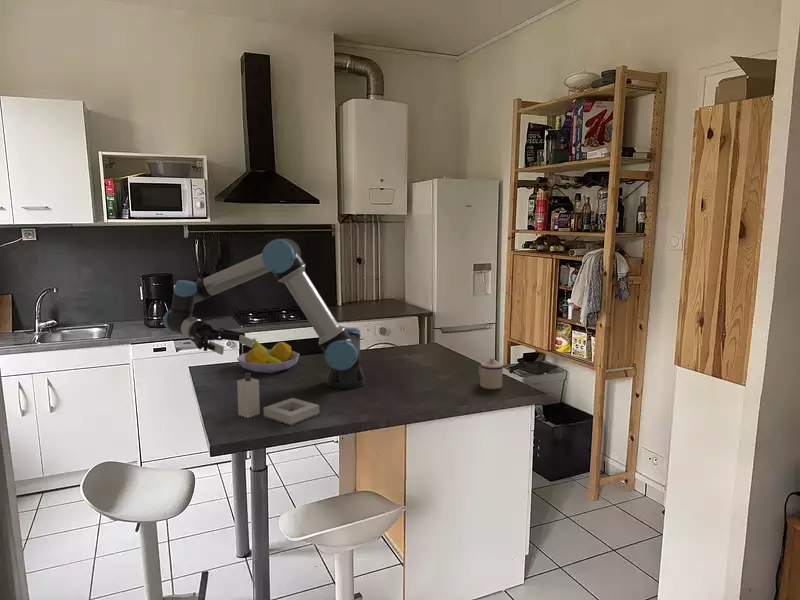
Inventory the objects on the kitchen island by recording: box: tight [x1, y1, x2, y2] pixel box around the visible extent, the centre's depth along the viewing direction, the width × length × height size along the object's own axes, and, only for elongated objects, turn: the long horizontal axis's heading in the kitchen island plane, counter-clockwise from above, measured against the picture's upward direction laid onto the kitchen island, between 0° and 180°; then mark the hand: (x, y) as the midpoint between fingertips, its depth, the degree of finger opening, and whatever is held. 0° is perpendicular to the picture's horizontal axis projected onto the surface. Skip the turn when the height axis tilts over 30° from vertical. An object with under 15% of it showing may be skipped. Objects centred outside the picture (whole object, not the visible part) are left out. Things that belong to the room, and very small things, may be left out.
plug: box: [236, 372, 261, 419], centre depth 185 cm, size 5×5×14 cm
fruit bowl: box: [236, 337, 300, 374], centre depth 242 cm, size 28×27×11 cm
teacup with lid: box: [477, 357, 504, 390], centre depth 220 cm, size 12×9×12 cm
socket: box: [263, 397, 320, 427], centre depth 185 cm, size 17×13×4 cm
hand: (238, 347), depth 189 cm, fingers open, 13 cm apart
